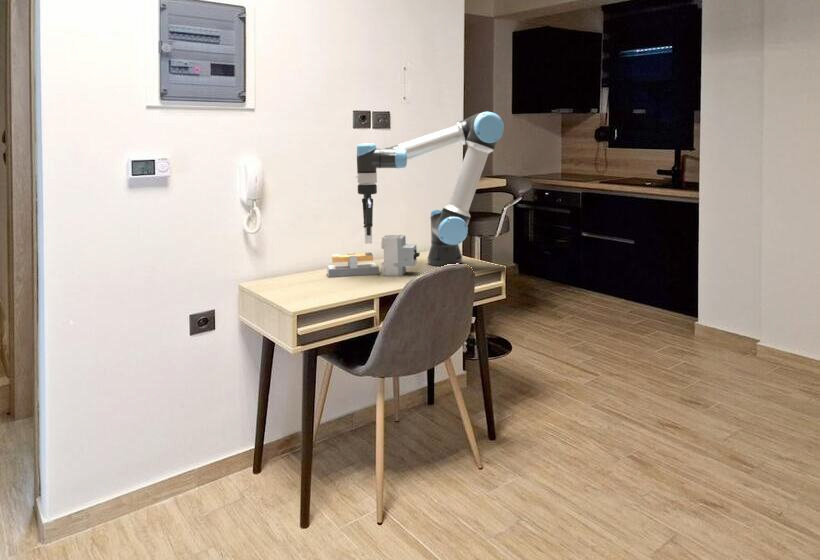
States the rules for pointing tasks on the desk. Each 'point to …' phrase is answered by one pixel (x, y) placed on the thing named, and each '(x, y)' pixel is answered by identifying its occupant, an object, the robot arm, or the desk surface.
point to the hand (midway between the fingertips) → (368, 243)
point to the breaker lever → (345, 258)
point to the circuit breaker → (397, 255)
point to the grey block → (352, 268)
